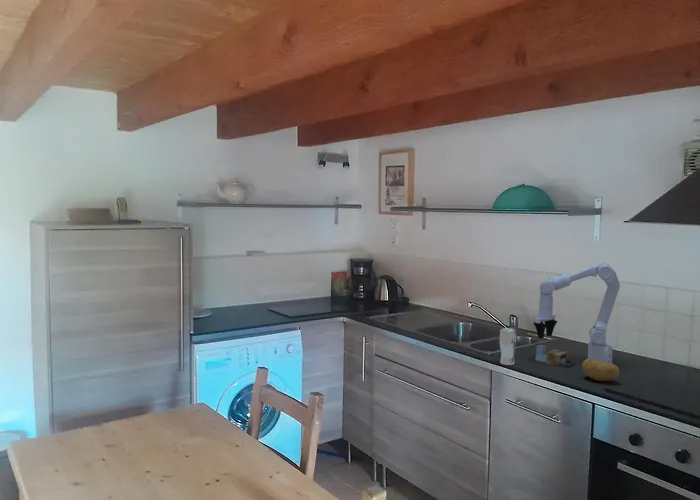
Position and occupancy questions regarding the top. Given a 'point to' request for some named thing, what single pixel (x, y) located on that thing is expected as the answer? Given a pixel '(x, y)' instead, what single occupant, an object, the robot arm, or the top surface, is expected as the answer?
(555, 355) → the tunnel
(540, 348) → the blue l-shaped block
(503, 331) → the beer glass
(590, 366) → the potato
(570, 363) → the pit
